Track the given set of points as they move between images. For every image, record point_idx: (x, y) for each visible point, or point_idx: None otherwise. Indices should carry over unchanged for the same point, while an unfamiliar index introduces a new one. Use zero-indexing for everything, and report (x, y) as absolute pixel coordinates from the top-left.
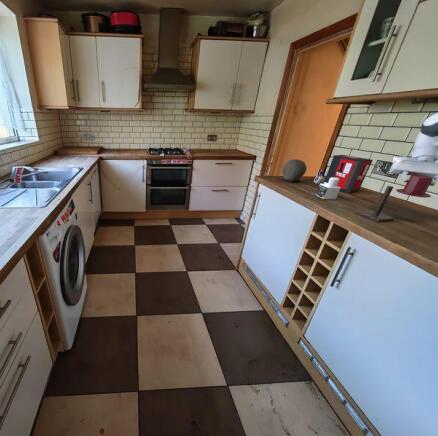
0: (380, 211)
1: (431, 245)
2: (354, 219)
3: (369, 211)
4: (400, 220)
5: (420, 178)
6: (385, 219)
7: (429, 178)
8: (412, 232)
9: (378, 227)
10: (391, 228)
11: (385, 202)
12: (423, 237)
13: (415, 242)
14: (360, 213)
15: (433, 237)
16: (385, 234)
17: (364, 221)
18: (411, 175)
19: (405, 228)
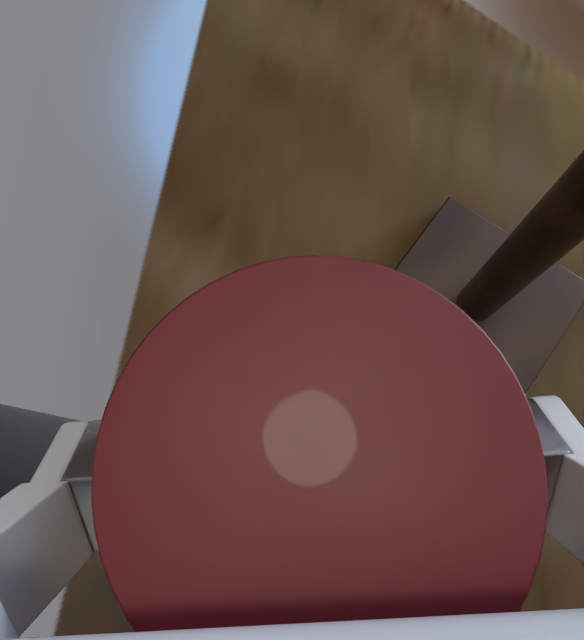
0: (473, 277)
1: (207, 27)
2: (576, 142)
3: (527, 363)
4: None
5: (354, 275)
6: (411, 247)
7: (195, 298)
8: (263, 161)
9: (436, 101)
10: (369, 141)
11: (504, 242)
12: (220, 118)
13: (272, 12)
14: (572, 278)
15: (167, 161)
16: (400, 16)
17: (517, 151)
18: (538, 451)
19: (292, 208)
